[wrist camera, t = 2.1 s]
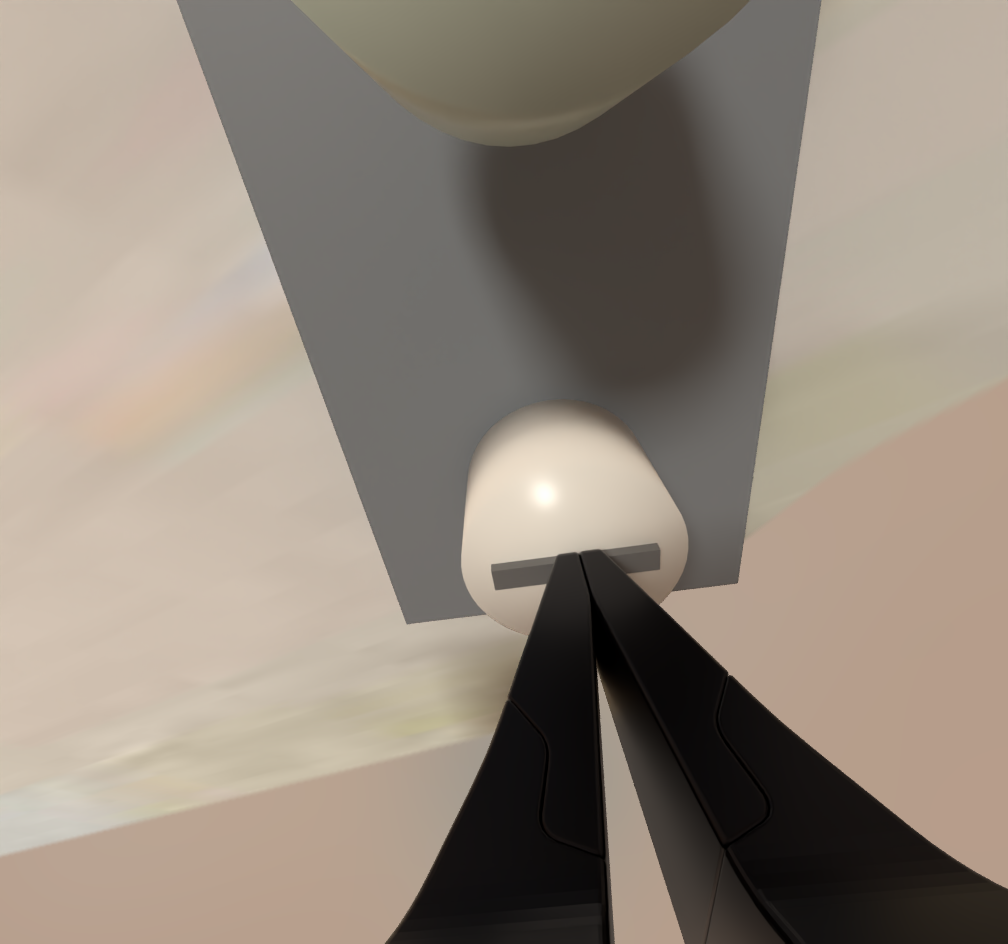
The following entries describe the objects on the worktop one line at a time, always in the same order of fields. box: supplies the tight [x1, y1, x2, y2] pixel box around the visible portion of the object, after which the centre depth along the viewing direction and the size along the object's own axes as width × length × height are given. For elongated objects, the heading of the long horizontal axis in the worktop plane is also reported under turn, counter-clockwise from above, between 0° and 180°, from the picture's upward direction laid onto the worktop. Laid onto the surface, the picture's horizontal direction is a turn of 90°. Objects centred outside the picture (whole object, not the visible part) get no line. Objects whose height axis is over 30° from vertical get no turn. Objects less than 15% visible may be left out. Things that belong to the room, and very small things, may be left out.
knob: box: [461, 399, 688, 636], centre depth 12 cm, size 4×4×7 cm
